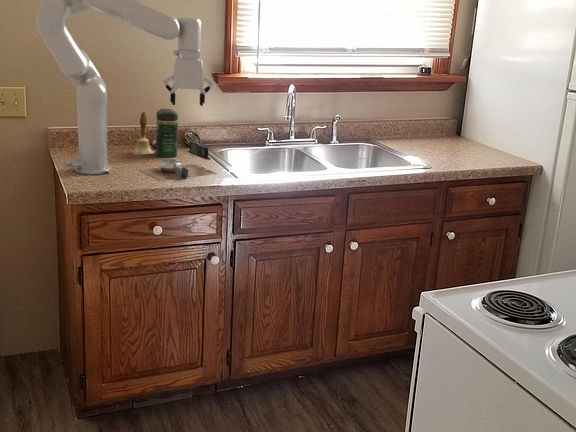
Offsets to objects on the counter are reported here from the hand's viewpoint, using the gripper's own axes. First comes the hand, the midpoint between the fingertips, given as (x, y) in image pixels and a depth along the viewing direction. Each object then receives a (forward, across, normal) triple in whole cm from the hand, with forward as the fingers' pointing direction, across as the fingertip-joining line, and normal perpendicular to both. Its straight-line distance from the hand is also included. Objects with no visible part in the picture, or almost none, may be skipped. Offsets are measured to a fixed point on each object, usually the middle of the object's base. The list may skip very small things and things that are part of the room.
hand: (187, 104), depth 244 cm
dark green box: (+24, +8, +23) cm, 34 cm away
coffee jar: (+24, -5, +19) cm, 31 cm away
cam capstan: (+22, -4, -9) cm, 24 cm away
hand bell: (+24, -13, +26) cm, 38 cm away
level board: (+24, -3, -6) cm, 25 cm away
